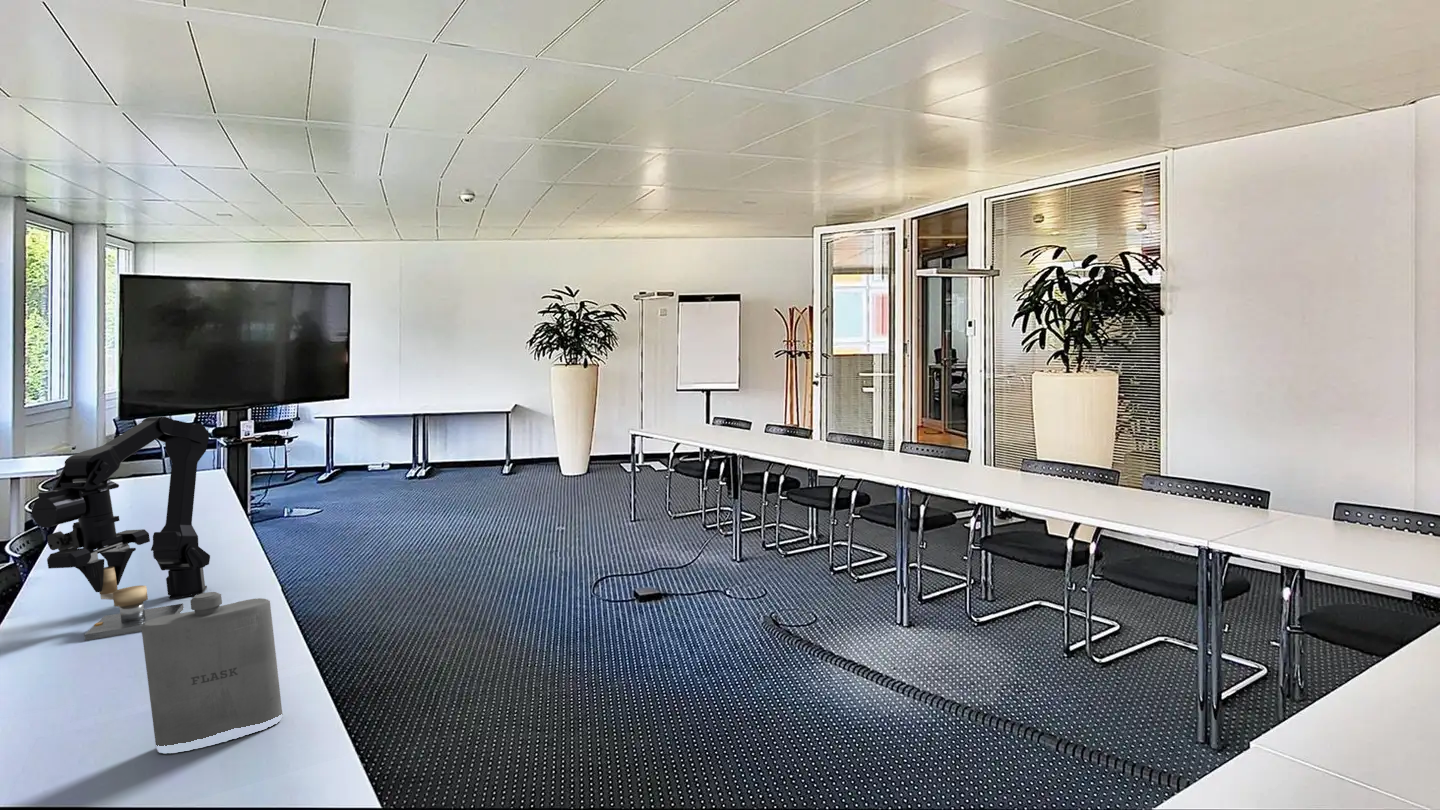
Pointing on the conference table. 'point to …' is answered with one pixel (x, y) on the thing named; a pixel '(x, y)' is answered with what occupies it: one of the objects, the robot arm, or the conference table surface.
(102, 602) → the conference table surface
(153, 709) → the flask
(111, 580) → the crank handle
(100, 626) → the base
